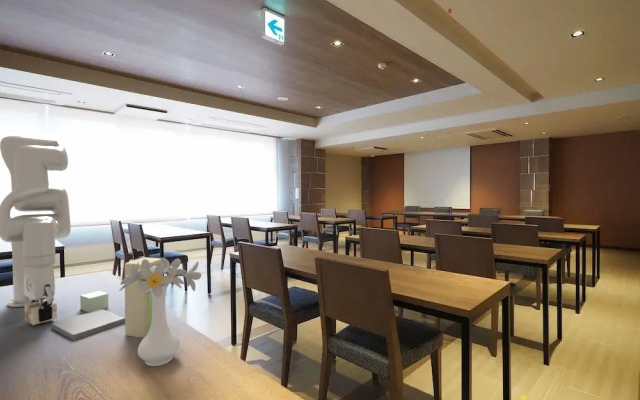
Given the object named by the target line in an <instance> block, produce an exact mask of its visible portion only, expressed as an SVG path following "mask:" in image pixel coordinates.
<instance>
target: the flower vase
mask: <svg viewBox="0 0 640 400" xmlns="http://www.w3.org/2000/svg"><path fill="white" fill-rule="evenodd" d="M160 259H161V262H162V264H161V263H157V264H155V265H154V266H152V267H151V266H150V263H149V261H148V260H146V259H144V260H143V261H142V263H141V267H142V269H141V270H138V264H139V262H138V263H137V265H136V267H135V264H133V265H132V267H131V270H130V276H127V277H126V278H125V277H124V278H123V279H122V280H121V281H120V285H123V286H122V287H121V288H119V291H118V292H121V291H122V290H123V289H124V290H125V287H127V286H128V285H130V284H132V283H134V282H135V281H137V280H139V282H138V288H137V290H138V291H139V292H143V291H146V290H148V289H150V292H151V297H152V320H151V326H150V329H149V332H148V334H147V335H146V336H145V337H142V340H141V341H140V343H139V345H138V347H137V355H138V357H139V358H141V360H142V361H144V363H145V365H146V366H148V367H160V366H164V365H166V364H168V363H169V362H171V360H172V359H173V357H174V355H175V354H176V353H177V352H178V351H179V348H180V344H181V343H180V340H179V337H178V336H177V334H175V333H174V332H173V331H172V330H171V329H170V327H169V325H168V323H167V322H168V321H167V312H166V296H167V291H168V290H167V289H168V287H169V285H170V284H173V285H175V286H176V287H178V288H179V289H180V290H181V289H183V288H182V285H184V284H185V282H184V281H183V280H182V278H180V277H184V278H185V280H186V286H187V287H189V286H190V288H191V290H192V292H195V291H196V282H195V281H197V280H200V279H201V278H202V273H201V272H200V271H197V269H198V268H199V261H196V262H195V263H194V265H193V266H189V268H188V270H186V269H183V268H179V267H180V266H181V263H182V260H181V259H180V258H176V259H174V260H172V262H171V263H170V261H169V260H168V259H167V258H165V257H161V258H160ZM162 275H163V276H162ZM161 276H162V277H161ZM140 278H141V279H140ZM126 283H127V284H126Z"/></svg>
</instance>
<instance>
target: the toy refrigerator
mask: <svg viewBox="0 0 640 400" xmlns="http://www.w3.org/2000/svg"><path fill="white" fill-rule="evenodd" d="M144 259H146V260H148V261H149V263H150V266H151V267H152V266H154V265H155V264H157V263H161V264H162V262H161V258H160V257H147V256H146V257H141V258H137V259H134V260H131V261H128V262H125V263H124V267H123V268H124V278H126V277H127V276H130V270H131V267H132V265H133V264H135V267H136V265H137V263H138V262H139V264H138V270H141V269H142V267H141V263H142V261H143V260H144ZM162 276H164V274H163V275H162ZM162 276H161V277H162ZM140 279H141V278H140ZM138 282H139V280H137V281H135V282H134V283H132V284H130V285H128V286H127V287H125V288H124V316H125V317H124V318H125V323H124V327H125V329H124V330H125V331H124V332H125V335H126V336H127V337H128V336H129V337H138V338H144V337H145V336H146V335H147V334H148V332H149V329H150V326H151V320H152V297H151V292H150V289H148V290H146V291H143V292H139V291H138V290H137V288H138ZM126 284H127V283H126Z"/></svg>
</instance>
